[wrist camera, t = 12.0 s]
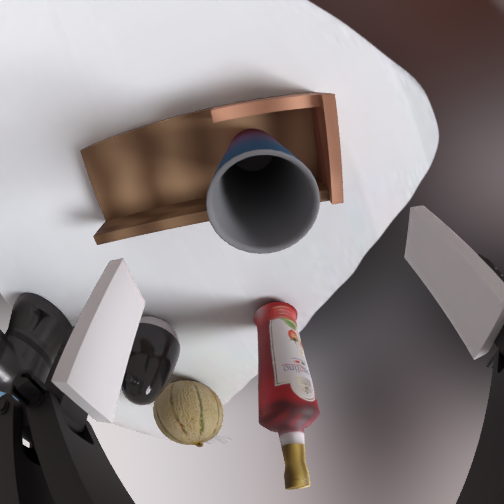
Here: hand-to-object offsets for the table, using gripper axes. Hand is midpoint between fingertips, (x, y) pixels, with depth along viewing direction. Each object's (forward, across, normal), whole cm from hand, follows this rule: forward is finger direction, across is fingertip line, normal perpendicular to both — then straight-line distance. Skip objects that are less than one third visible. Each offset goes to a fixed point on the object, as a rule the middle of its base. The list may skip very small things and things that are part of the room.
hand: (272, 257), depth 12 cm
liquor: (+23, -1, -26) cm, 34 cm away
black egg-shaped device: (+23, -22, -26) cm, 41 cm away
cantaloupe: (+23, -22, -46) cm, 56 cm away
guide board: (+22, -6, 0) cm, 23 cm away
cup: (+21, 0, 0) cm, 21 cm away
